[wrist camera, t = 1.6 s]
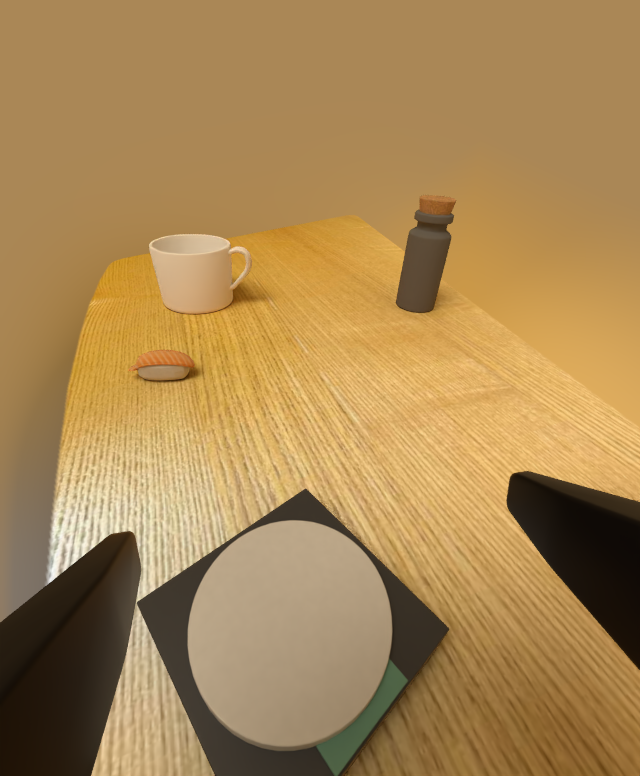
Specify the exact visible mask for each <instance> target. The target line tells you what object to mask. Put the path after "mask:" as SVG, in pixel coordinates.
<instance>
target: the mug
mask: <svg viewBox="0 0 640 776" xmlns="http://www.w3.org/2000/svg"><path fill="white" fill-rule="evenodd" d="M149 250H150V254H151V257H152V261H153V265H154V269H155V273H156V277H157V280H158V284H159V288H160V292H161V296H162V299H163V303H164V305H165V306H166V307H167V308H169V309H170V310H172V311H175V312H179V313H186V314H202V313H210V312H215V311H218V310H221V309H223V308H225V307H227V306H228V305H229V304H230V303H231V302H232V300H233V289H234V288H236V287H237V286H238V285H239V284H240V283H241V282H242V281H243V280H244V278H245V277H246V276H247V275H248V274H249V272H250V270H251V266H252V259H251V255H250V253H249V251H248V250H246V249H245V248H243V247H239V246H238V247H234V248H232V249H231V245H230V243H229V241H228V240H226V239H224V238H221V237H217V236H212V235H203V234H181V235H172V236H166V237H162V238H158V239H156V240H154V241H152V242H151V243H150V244H149ZM233 253H241V254H243V255H244V257H245V259H246V268H245V270H244V272H243V273H242V274H241V275H240V276H239V277H238V279H237V280H236V281H235V282H234V283H233V284H232V263H231V254H233Z"/></svg>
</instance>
